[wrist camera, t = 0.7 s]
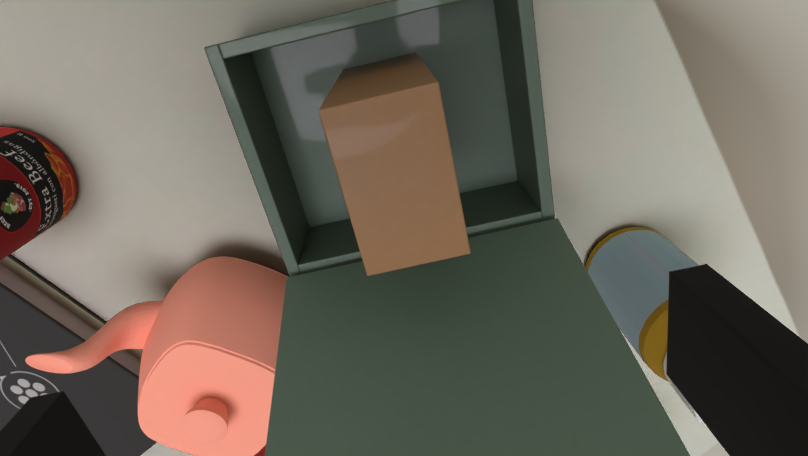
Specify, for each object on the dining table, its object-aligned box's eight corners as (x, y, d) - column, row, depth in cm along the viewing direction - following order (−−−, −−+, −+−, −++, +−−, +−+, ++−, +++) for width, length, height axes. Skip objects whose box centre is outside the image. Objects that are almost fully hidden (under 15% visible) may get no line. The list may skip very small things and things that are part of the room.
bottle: (571, 246, 40) (671, 371, 26) (654, 209, 39) (804, 320, 25) (596, 309, 42) (698, 453, 29) (674, 276, 41) (820, 410, 28)
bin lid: (252, 550, 19) (302, 591, 23) (696, 465, 18) (672, 522, 22) (286, 277, 31) (315, 334, 35) (557, 217, 30) (557, 282, 34)
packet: (342, 69, 32) (317, 109, 20) (415, 52, 32) (438, 81, 19) (371, 180, 36) (367, 276, 23) (438, 165, 35) (470, 253, 23)
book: (-122, 338, 40) (-159, 362, 38) (-26, 228, 37) (-59, 246, 34) (104, 470, 48) (87, 498, 45) (202, 389, 44) (191, 415, 41)
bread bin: (237, 39, 32) (203, 47, 26) (499, -26, 31) (529, -34, 25) (304, 234, 38) (289, 278, 32) (526, 184, 37) (555, 219, 31)
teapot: (145, 195, 36) (41, 277, 25) (384, 297, 41) (386, 404, 30) (100, 327, 41) (-5, 446, 30) (319, 406, 45) (299, 534, 34)
